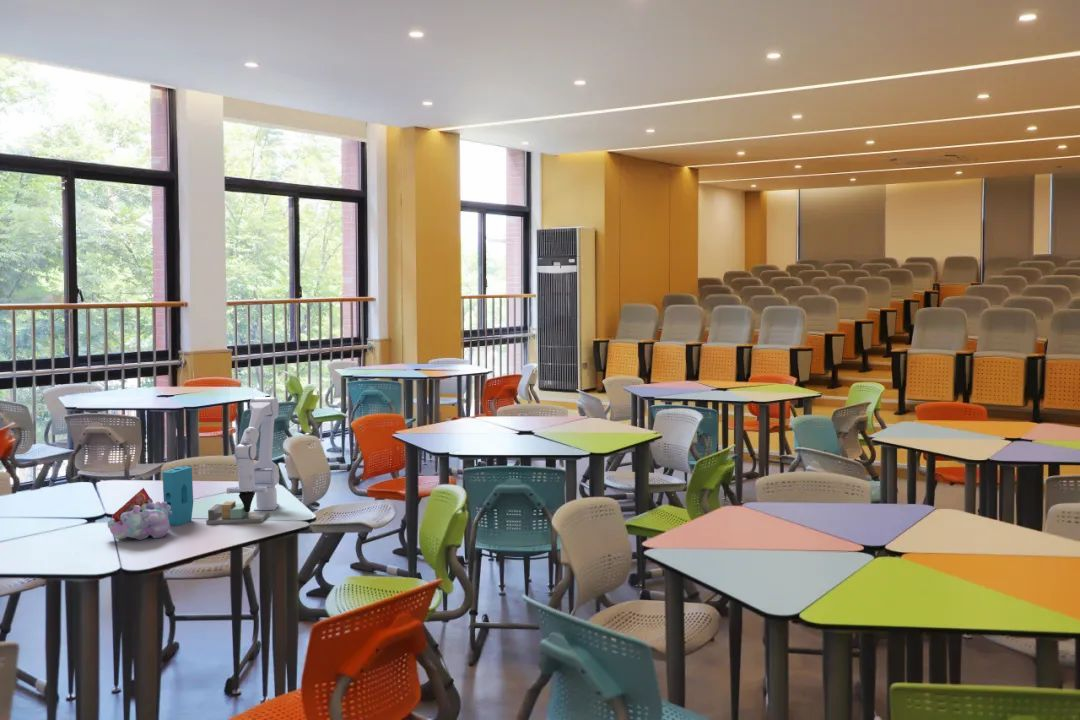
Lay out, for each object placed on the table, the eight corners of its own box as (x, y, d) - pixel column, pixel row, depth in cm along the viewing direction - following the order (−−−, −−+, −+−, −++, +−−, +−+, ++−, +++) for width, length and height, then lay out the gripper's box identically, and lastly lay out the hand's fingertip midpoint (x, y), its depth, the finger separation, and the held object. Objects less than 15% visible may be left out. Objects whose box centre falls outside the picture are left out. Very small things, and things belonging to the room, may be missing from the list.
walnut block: (226, 514, 349) (226, 501, 349) (235, 514, 349) (235, 501, 349) (221, 518, 343) (221, 504, 343) (231, 518, 343) (230, 504, 343)
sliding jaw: (237, 512, 352) (237, 503, 352) (248, 512, 352) (247, 503, 352) (230, 518, 342) (229, 509, 342) (241, 518, 342) (240, 509, 342)
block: (175, 526, 338) (173, 472, 336) (163, 526, 339) (161, 472, 337) (195, 519, 349) (192, 466, 348) (183, 518, 350) (181, 466, 349)
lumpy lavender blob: (154, 532, 310) (165, 482, 319) (90, 531, 310) (102, 481, 318) (174, 549, 328) (184, 501, 337) (113, 548, 328) (124, 500, 336)
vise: (216, 516, 352) (215, 503, 352) (269, 515, 353) (268, 502, 353) (206, 524, 341) (205, 511, 340) (261, 522, 342) (260, 509, 341)
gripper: (223, 478, 342) (225, 514, 343) (263, 477, 342) (264, 513, 343) (228, 474, 349) (230, 510, 350) (267, 473, 350) (269, 509, 350)
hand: (247, 511), depth 347 cm, fingers closed
